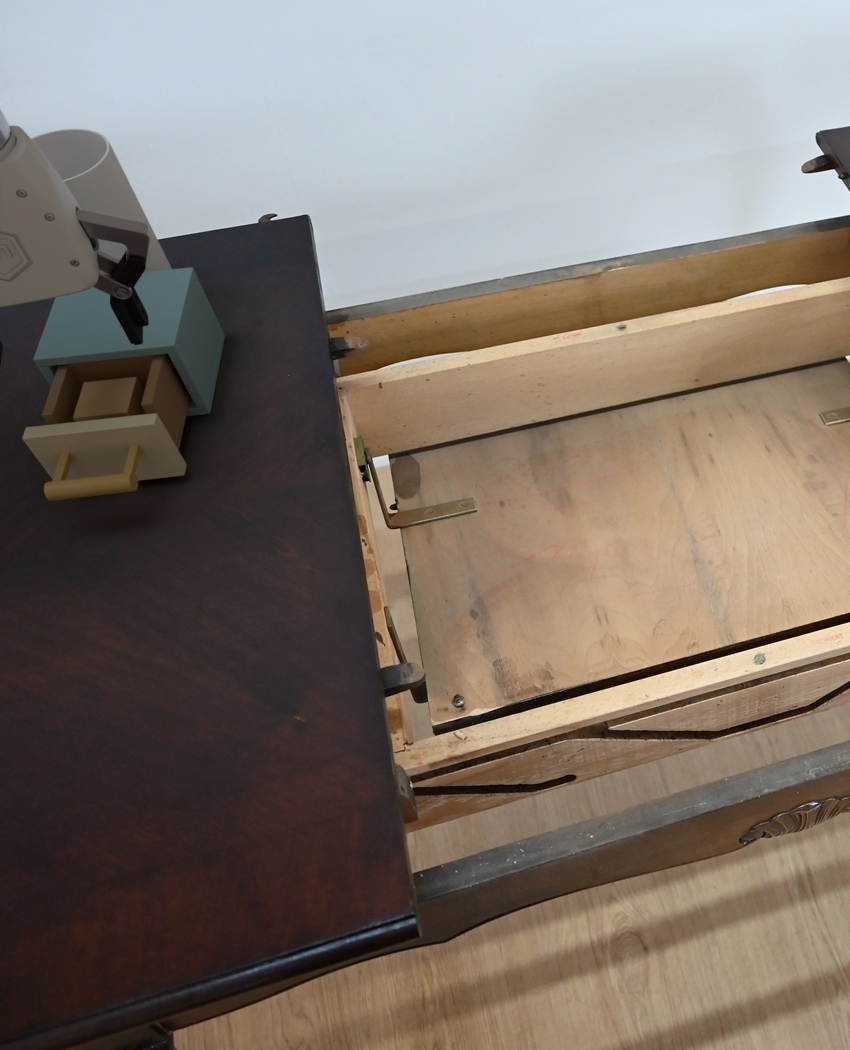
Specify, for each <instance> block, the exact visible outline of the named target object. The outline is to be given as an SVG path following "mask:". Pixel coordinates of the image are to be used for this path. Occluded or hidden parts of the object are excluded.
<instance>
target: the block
mask: <svg viewBox="0 0 850 1050" xmlns="http://www.w3.org/2000/svg"><path fill="white" fill-rule="evenodd" d="M143 395H144V389H143V387H142V386H141V384H140V382H139V381H138V379H137V377H130V378H120V379H111V380H101V381H92V382H84V383H83V387H82V390H81V393H80V396H79V400H78V403H77V406H76V409H75V412H74V416H73V419H74V421H75V422H80V421H89V420H99V419H108V418H117V417H126V416H135V415H144V414H146V412H145V410H144V409H143V407H142V405H141V403H142V399H143Z"/></svg>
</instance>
